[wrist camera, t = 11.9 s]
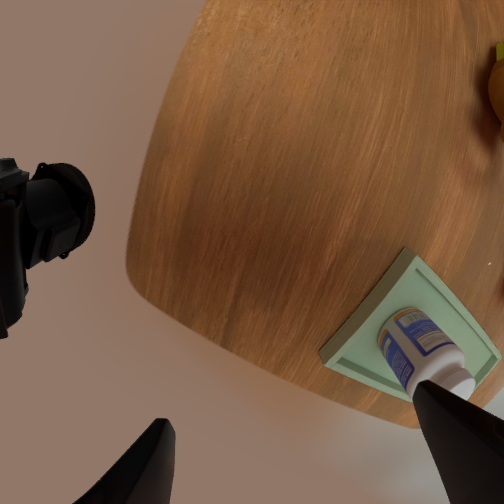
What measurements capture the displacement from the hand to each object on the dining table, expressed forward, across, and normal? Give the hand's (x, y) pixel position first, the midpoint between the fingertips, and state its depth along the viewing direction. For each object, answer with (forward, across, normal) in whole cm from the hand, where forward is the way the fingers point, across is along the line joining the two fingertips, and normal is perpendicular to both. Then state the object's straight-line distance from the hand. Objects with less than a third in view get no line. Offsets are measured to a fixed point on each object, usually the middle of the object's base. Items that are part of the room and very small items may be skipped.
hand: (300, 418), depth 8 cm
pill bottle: (+13, -12, +7) cm, 19 cm away
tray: (+13, -18, +13) cm, 26 cm away
